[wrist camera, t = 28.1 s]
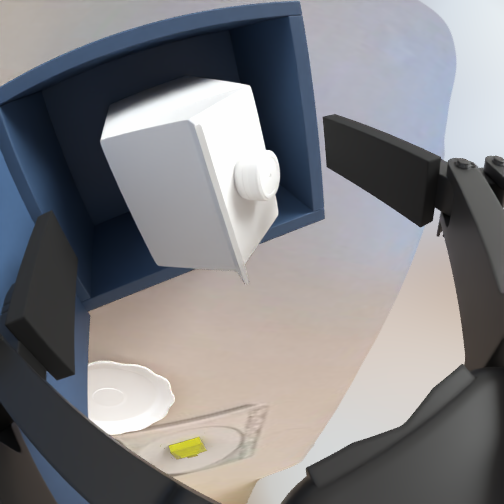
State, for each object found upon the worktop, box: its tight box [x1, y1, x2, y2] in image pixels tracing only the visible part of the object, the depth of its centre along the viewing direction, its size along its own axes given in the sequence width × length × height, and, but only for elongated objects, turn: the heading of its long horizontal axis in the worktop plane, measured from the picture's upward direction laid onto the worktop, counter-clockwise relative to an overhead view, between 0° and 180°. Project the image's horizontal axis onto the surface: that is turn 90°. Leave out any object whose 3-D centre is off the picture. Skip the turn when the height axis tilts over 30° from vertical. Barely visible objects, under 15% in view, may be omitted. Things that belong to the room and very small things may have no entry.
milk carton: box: [100, 76, 280, 285], centre depth 19 cm, size 7×7×19 cm
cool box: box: [0, 1, 325, 311], centre depth 22 cm, size 19×16×12 cm
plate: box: [88, 361, 175, 435], centre depth 43 cm, size 21×21×2 cm
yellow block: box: [160, 437, 207, 459], centre depth 60 cm, size 10×9×3 cm
